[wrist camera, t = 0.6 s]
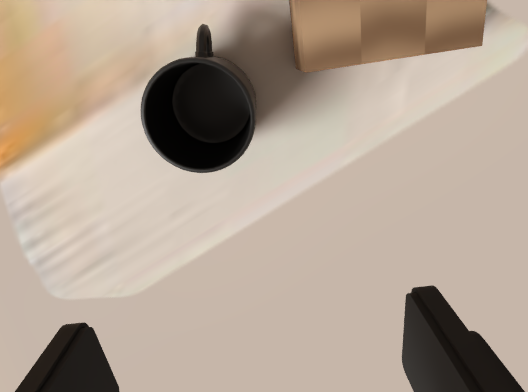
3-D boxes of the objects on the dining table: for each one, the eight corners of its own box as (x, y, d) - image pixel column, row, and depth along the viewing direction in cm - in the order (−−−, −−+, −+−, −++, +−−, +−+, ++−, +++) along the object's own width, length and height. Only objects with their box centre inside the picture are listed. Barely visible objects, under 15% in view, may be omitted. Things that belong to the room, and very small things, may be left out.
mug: (259, 30, 33) (259, 23, 25) (254, 148, 38) (253, 176, 29) (163, 25, 33) (130, 15, 24) (170, 144, 37) (145, 171, 29)
